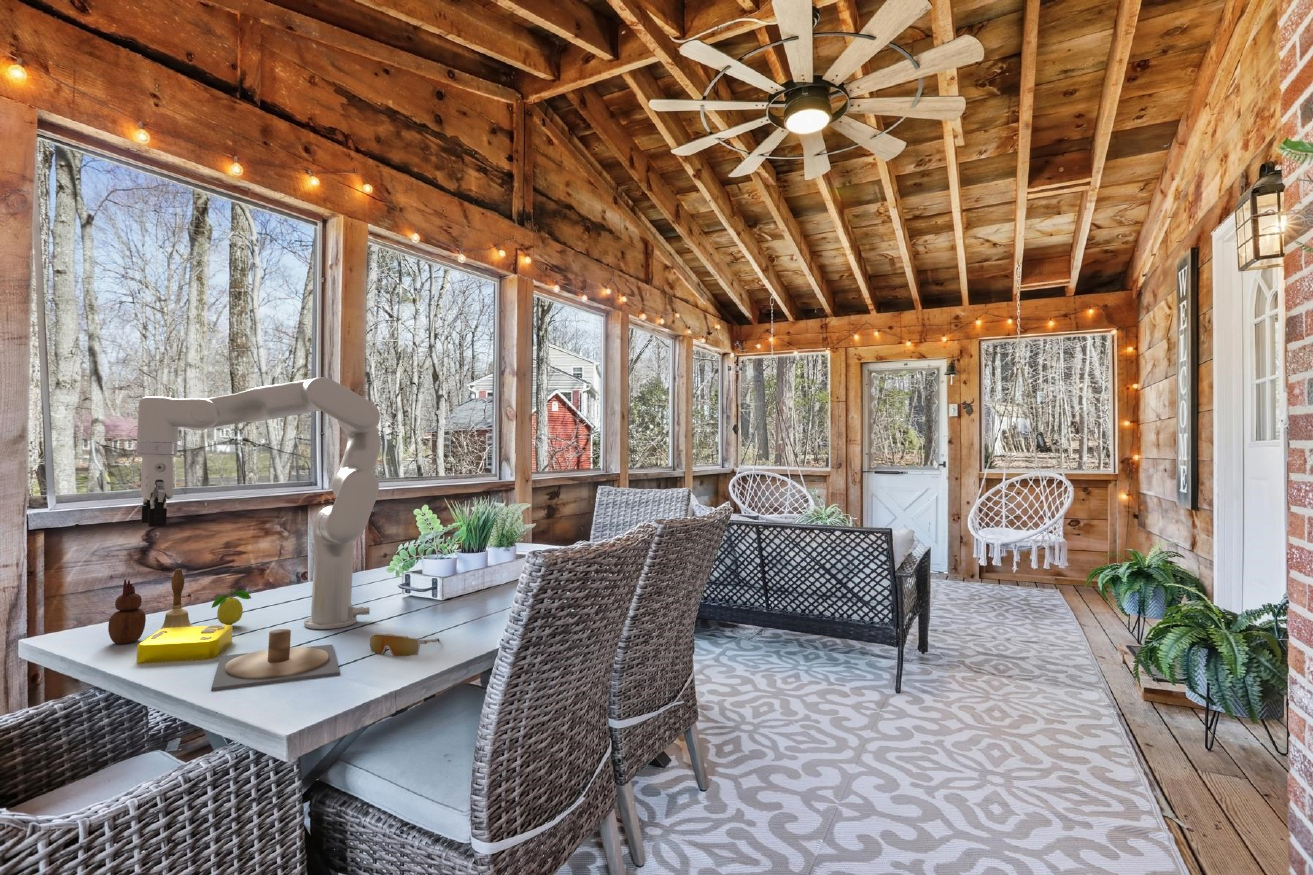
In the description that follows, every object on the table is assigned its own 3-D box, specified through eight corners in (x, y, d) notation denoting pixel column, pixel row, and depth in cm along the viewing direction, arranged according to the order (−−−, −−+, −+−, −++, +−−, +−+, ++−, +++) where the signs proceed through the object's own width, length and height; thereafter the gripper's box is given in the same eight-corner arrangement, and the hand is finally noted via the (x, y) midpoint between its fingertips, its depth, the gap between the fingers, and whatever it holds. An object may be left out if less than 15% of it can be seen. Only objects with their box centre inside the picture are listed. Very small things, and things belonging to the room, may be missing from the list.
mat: (332, 646, 154) (332, 644, 154) (339, 674, 135) (339, 671, 135) (220, 658, 143) (220, 655, 143) (211, 690, 124) (211, 687, 124)
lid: (325, 646, 152) (327, 617, 152) (331, 670, 135) (332, 637, 136) (228, 656, 142) (230, 625, 142) (221, 683, 126) (223, 648, 126)
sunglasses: (357, 654, 149) (360, 632, 150) (394, 646, 163) (396, 625, 164) (413, 660, 146) (416, 637, 147) (446, 651, 161) (448, 630, 162)
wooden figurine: (121, 647, 149) (125, 581, 149) (101, 644, 150) (105, 579, 151) (150, 639, 155) (153, 576, 156) (130, 637, 157) (134, 574, 157)
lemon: (250, 624, 172) (252, 585, 172) (235, 629, 166) (237, 590, 166) (225, 623, 172) (227, 584, 172) (209, 628, 166) (211, 589, 166)
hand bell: (151, 639, 155) (155, 572, 156) (158, 631, 162) (162, 567, 163) (193, 636, 159) (197, 570, 159) (199, 628, 166) (202, 565, 167)
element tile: (159, 646, 152) (160, 625, 152) (234, 642, 157) (235, 622, 157) (132, 666, 138) (134, 643, 138) (215, 660, 143) (217, 638, 143)
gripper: (184, 451, 147) (180, 527, 147) (170, 450, 159) (166, 520, 159) (142, 450, 142) (138, 529, 141) (131, 449, 154) (127, 522, 153)
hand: (153, 524), depth 150 cm, fingers open, 9 cm apart
